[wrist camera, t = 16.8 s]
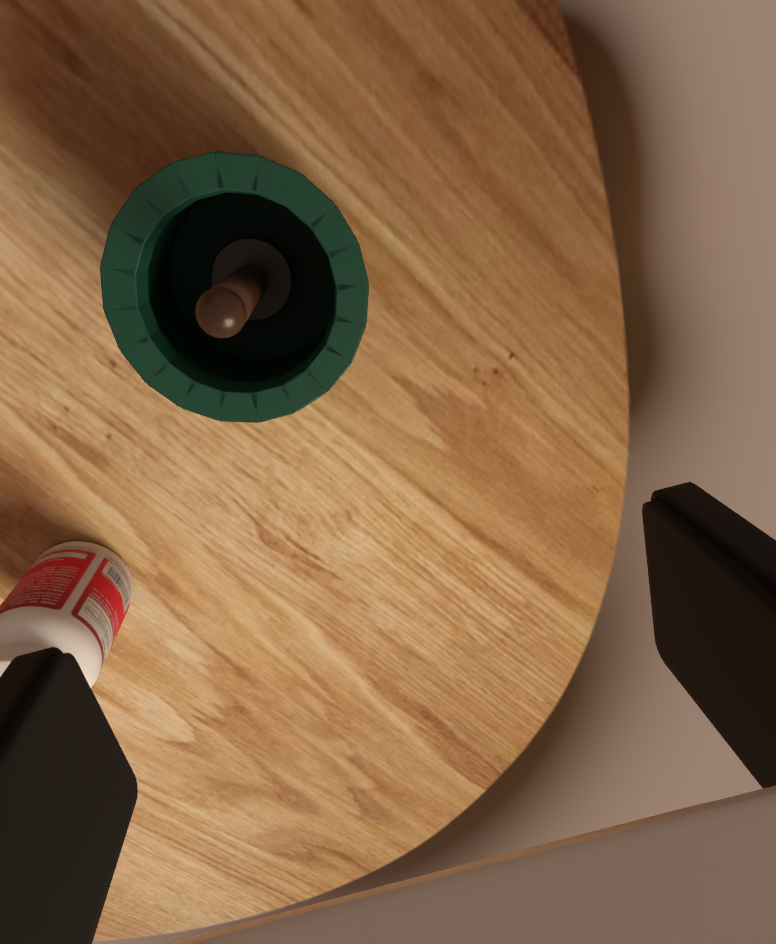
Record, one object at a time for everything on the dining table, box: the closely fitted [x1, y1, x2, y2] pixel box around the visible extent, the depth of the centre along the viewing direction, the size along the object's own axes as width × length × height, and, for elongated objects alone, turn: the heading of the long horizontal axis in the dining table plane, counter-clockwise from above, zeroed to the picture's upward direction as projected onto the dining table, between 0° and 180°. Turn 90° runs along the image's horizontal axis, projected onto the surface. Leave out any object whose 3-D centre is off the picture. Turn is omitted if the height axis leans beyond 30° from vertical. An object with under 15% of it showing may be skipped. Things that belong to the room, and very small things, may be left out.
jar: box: [100, 151, 369, 423], centre depth 31 cm, size 10×10×11 cm
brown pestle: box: [195, 236, 294, 338], centre depth 28 cm, size 4×4×16 cm
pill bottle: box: [0, 541, 134, 688], centre depth 36 cm, size 6×6×11 cm
